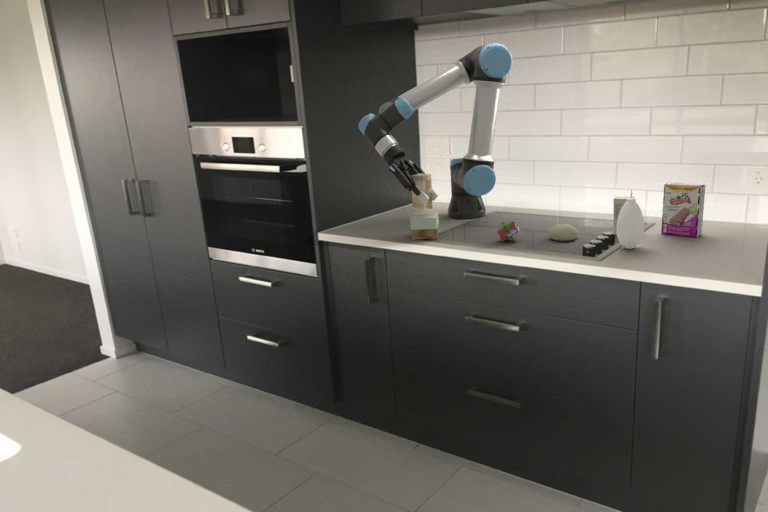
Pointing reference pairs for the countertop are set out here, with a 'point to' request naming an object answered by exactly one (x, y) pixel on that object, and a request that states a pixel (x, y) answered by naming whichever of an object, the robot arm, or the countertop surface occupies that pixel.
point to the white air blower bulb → (630, 224)
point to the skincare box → (618, 209)
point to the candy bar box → (683, 209)
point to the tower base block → (425, 234)
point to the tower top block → (424, 221)
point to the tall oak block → (426, 186)
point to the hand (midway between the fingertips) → (431, 199)
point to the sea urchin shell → (563, 232)
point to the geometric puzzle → (508, 231)
